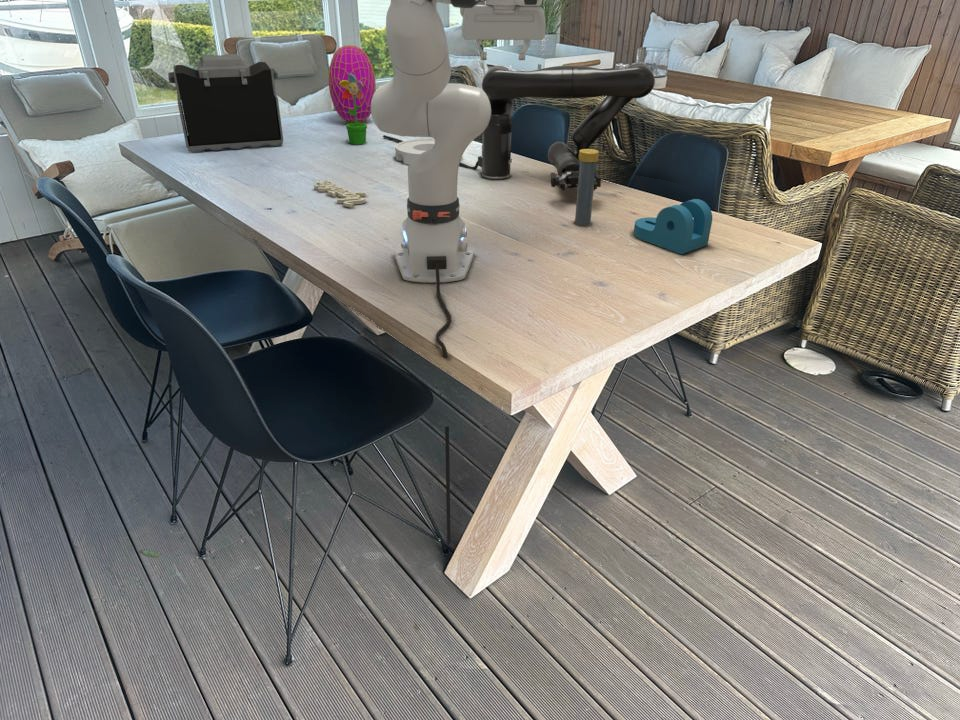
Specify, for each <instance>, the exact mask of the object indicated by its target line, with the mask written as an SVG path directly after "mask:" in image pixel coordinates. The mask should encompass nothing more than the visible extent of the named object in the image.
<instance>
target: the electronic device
mask: <svg viewBox="0 0 960 720" xmlns="http://www.w3.org/2000/svg"><path fill="white" fill-rule="evenodd" d="M172 68H173V69H172V71H171V72H170V71H169V72H168V75H167V79H168V83H169V84H174V85H175V90H176V95H177V96H176V97H177V107H178V112H179V116H180V121H181V127H182V131H183V136H184V142H185V146H186V149H187V151H188V152H192V153H201V152H203V151H205V150H210V151H213V152H217V151H222V150H223V149H231V150H241V149H243V148H246V147H250V148H253V149H257V148H258V149H259V148H261V147H263V146H270V147H280V146H281V145H283V144H284V135H283V128H282V119H281V118H282V117H281V111H280V104H279V98H278V95H277V93H276V92H277V91H276V84H275V80H276V79H278V78H279V77H278V76H279V73H278V72H277V70H275V68H271V67H270V66H269V64H268V63H267V62H266V61H258V62H255V63H254V64H252V65H250V66H248V63H246V61H245V60H243V59H242V58H241V57H240V55H239V54H238V53H225V54H221V55H220V54H218V55H215V54H214V53H213V54H201V56H200V60H198V61H196V68H197V69H196V68H192V67H190V66H187V65H183V64H174V65H173V67H172Z"/></svg>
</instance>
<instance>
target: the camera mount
mask: <svg viewBox="0 0 960 720" xmlns="http://www.w3.org/2000/svg"><path fill="white" fill-rule="evenodd" d="M712 223H713V213H712V209H711V208H710V206H709V205H708V203H706V201H704V200H702V199H698V198H693V199H689V200H686V201H682V202H681V203H680V204H673V205H670V206H667V207H664V208H662V209H661V210H660V211H659V212H658V214H657V215H656V217H651V216H650V217H648V216H647V217H641V218H637V219H636V220H635V221H634V225H633V226H634V227H633V234H632V235H633V236H634V237H635V238H637V239H639V240H640V241H644V242H646V243H650V244H651V245H654V246H658V247H660V248H662V249H666V250H668V251H672V252H674V253H677V254H679V255H684V254H687V253H690V252H693V251H695V250H697V249H700V248H702V247H706V246H708V245H709V239H710V234H711V229H712V225H713V224H712Z"/></svg>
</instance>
